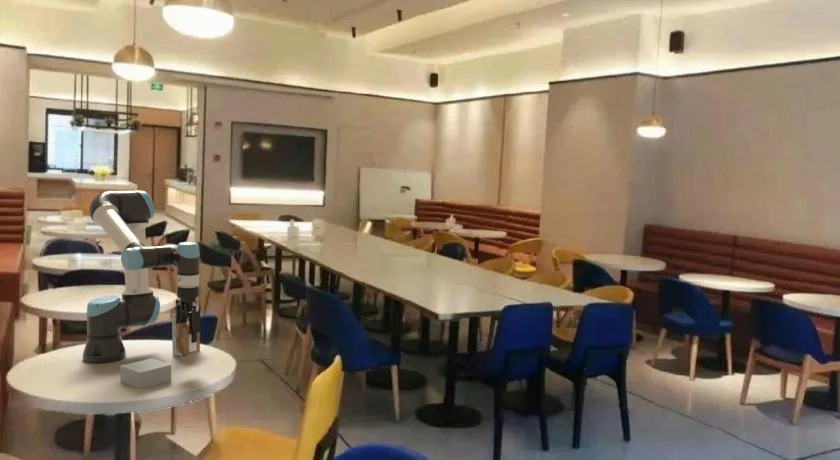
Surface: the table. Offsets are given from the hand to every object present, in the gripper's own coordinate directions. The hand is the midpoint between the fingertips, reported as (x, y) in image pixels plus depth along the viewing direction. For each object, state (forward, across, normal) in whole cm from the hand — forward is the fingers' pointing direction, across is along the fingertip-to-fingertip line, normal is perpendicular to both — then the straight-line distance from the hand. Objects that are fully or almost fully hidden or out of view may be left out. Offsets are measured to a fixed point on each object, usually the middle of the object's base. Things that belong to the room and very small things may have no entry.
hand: (187, 348), depth 249 cm
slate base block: (+10, -3, -14) cm, 18 cm away
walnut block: (+1, 0, 0) cm, 1 cm away
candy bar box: (+10, -26, +13) cm, 31 cm away
